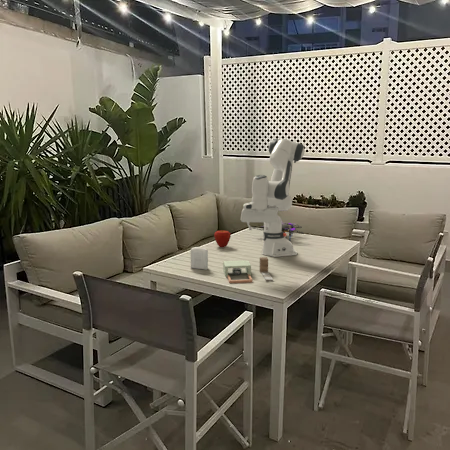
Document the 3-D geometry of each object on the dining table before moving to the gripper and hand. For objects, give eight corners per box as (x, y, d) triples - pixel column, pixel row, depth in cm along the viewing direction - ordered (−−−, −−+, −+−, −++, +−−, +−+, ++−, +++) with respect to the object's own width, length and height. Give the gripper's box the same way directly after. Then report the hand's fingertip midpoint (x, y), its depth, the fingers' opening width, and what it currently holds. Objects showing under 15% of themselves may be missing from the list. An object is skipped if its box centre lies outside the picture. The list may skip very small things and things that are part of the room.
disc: (240, 271, 252) (240, 267, 252) (242, 274, 247) (242, 270, 247) (231, 272, 252) (231, 268, 251) (233, 275, 247) (233, 270, 246)
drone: (249, 225, 327) (265, 218, 351) (249, 238, 329) (265, 231, 353) (302, 231, 308) (315, 223, 332) (301, 244, 310) (315, 236, 334)
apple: (233, 247, 304) (233, 229, 301) (220, 249, 298) (220, 231, 296) (224, 244, 313) (224, 227, 310) (211, 246, 307) (211, 229, 305)
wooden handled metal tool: (259, 271, 253) (259, 257, 251) (266, 270, 253) (266, 257, 251) (265, 281, 235) (266, 266, 233) (273, 281, 236) (273, 266, 234)
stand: (248, 269, 255) (248, 260, 254) (251, 275, 245) (251, 265, 244) (223, 270, 253) (223, 261, 252) (225, 276, 244) (225, 266, 243)
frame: (249, 276, 244) (249, 274, 243) (252, 282, 234) (252, 280, 234) (227, 277, 242) (227, 275, 242) (229, 283, 233) (229, 281, 233)
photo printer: (209, 268, 259) (208, 247, 257) (206, 270, 255) (205, 249, 253) (192, 266, 263) (192, 245, 260) (189, 268, 259) (189, 247, 256)
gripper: (277, 204, 250) (277, 229, 252) (240, 204, 250) (240, 228, 253) (279, 206, 244) (278, 231, 246) (241, 205, 244) (240, 231, 246)
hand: (258, 230), depth 249 cm, fingers open, 8 cm apart
